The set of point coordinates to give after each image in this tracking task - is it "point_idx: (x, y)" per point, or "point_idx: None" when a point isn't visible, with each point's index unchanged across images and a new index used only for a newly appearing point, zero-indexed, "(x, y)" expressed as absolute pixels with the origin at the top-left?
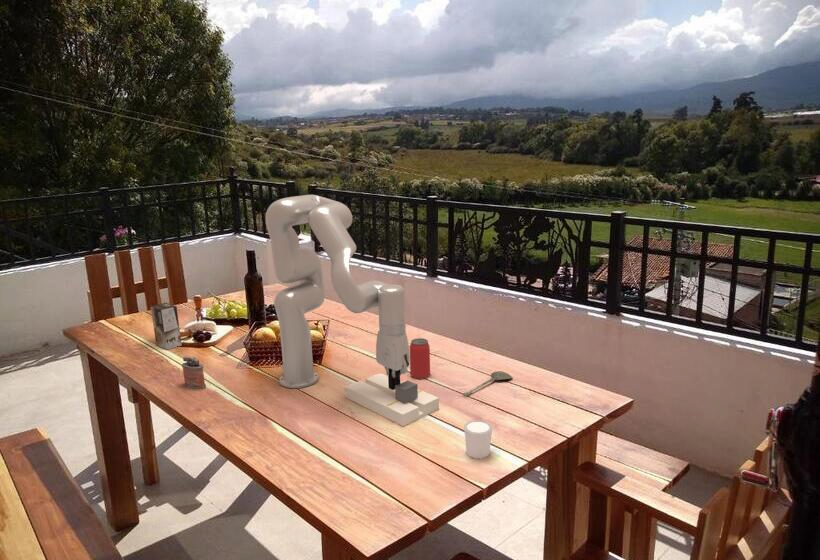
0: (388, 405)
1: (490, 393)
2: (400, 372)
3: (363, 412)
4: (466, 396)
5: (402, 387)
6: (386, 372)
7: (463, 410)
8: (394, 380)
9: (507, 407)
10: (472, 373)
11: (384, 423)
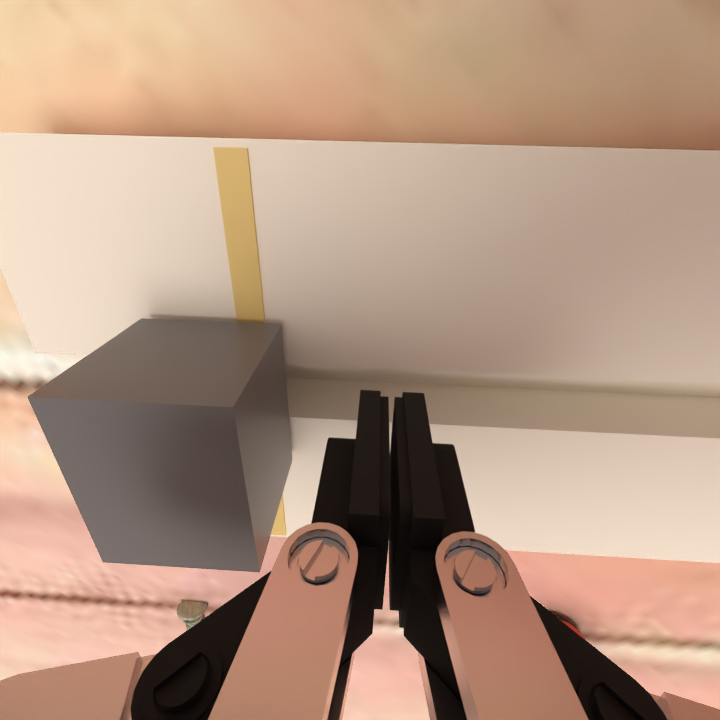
0: (222, 173)
1: (154, 652)
2: (126, 683)
3: (519, 49)
4: (186, 603)
5: (120, 430)
6: (519, 577)
7: (70, 517)
8: (340, 495)
9: (6, 613)
10: (345, 716)
11: (191, 42)
